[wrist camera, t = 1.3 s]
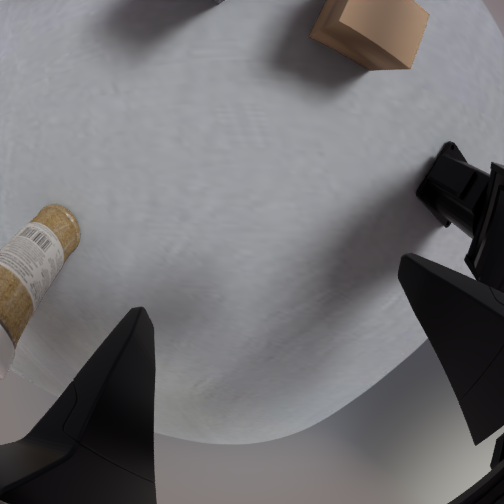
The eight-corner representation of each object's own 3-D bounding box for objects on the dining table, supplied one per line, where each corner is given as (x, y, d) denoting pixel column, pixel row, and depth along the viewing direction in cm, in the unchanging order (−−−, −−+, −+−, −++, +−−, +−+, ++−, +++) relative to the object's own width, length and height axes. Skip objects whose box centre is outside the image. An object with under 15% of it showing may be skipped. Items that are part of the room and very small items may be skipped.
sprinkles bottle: (31, 227, 18) (-57, 340, 6) (54, 190, 17) (-59, 306, 5) (66, 261, 20) (-1, 390, 9) (92, 229, 19) (10, 370, 8)
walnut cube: (388, 23, 13) (429, 14, 9) (368, 70, 15) (410, 69, 11) (331, -12, 11) (364, -34, 7) (308, 37, 14) (339, 20, 9)
